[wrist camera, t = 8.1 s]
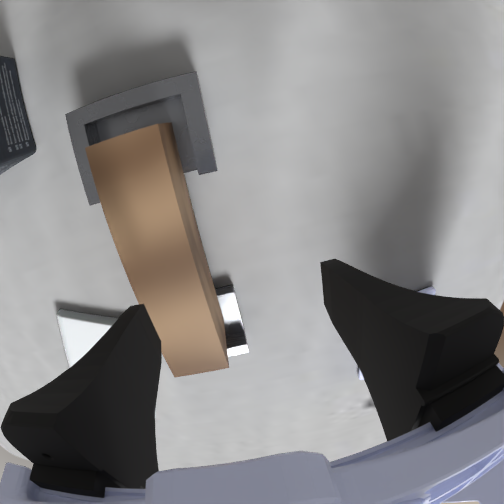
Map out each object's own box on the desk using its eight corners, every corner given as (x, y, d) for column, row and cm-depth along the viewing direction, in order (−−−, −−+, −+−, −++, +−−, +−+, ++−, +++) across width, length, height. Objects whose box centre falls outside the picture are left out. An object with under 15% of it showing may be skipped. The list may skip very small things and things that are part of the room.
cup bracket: (216, 162, 18) (217, 170, 16) (105, 192, 18) (89, 205, 15) (198, 78, 16) (196, 71, 13) (84, 113, 16) (65, 114, 13)
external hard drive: (153, 318, 23) (156, 409, 28) (62, 304, 22) (84, 397, 27) (151, 330, 22) (155, 421, 27) (55, 315, 20) (80, 408, 25)
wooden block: (223, 319, 22) (229, 367, 18) (178, 328, 22) (174, 377, 18) (171, 122, 16) (157, 123, 12) (116, 139, 16) (85, 147, 12)
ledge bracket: (245, 331, 24) (249, 352, 22) (173, 345, 24) (171, 366, 22) (233, 284, 22) (236, 304, 20) (155, 301, 22) (150, 321, 20)
